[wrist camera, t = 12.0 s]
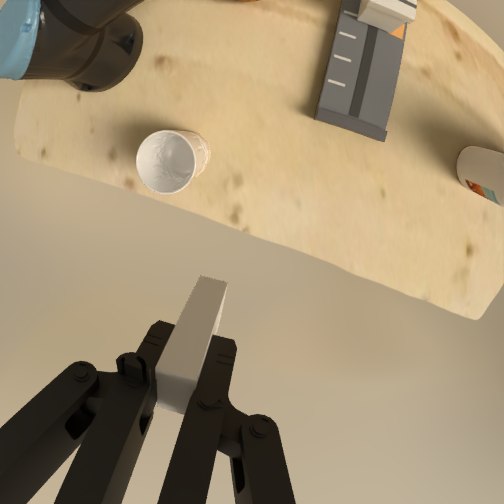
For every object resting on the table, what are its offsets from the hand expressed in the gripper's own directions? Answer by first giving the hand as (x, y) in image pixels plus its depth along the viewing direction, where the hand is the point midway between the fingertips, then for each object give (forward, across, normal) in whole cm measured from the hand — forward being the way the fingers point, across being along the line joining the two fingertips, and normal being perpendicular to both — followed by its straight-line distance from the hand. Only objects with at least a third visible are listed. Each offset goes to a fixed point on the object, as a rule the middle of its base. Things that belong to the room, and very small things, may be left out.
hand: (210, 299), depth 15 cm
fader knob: (+27, +11, +31) cm, 42 cm away
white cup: (+30, -11, +3) cm, 32 cm away
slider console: (+29, +11, +24) cm, 39 cm away
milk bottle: (+30, +34, +14) cm, 47 cm away
